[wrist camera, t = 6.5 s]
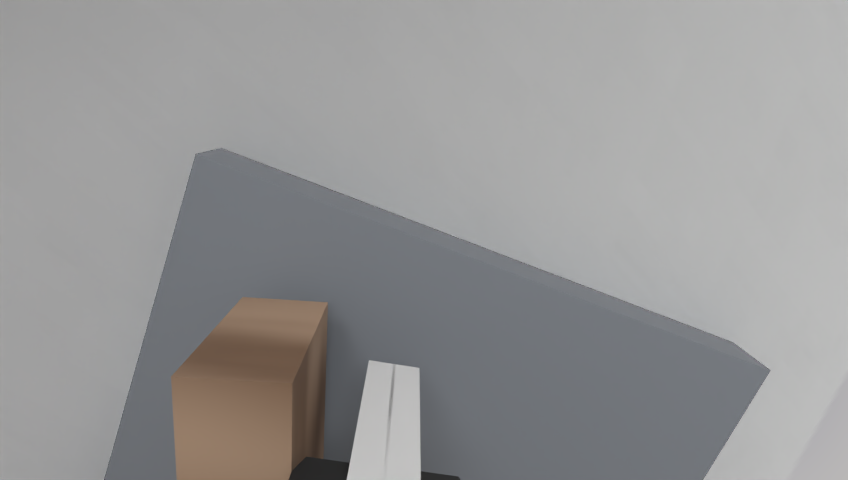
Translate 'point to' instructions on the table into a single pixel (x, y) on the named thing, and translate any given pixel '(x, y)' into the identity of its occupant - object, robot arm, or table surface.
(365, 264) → the plate
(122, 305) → the table surface
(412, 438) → the robot arm
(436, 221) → the table surface
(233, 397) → the brown wooden bar
